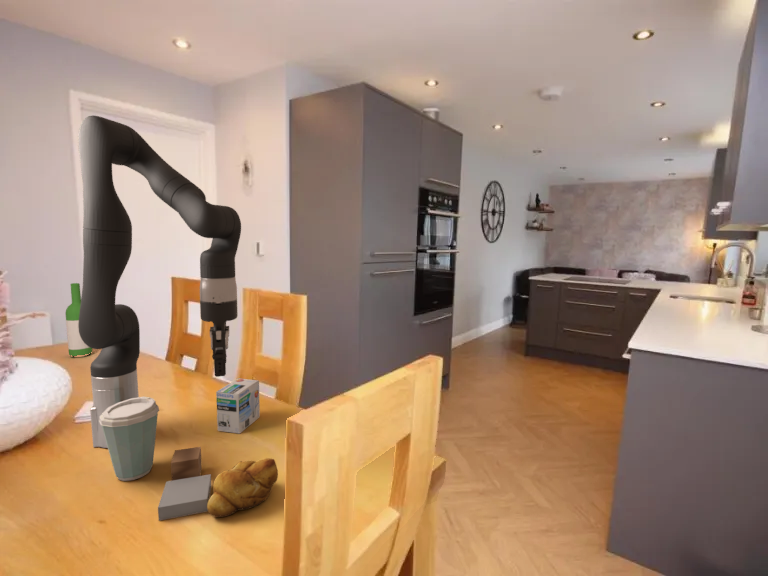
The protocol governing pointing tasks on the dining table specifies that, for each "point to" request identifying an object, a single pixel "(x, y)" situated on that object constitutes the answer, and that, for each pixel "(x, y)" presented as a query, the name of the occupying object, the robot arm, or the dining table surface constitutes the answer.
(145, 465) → the disposable coffee cup
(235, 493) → the bread roll
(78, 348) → the wine bottle
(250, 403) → the light bulb box
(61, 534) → the dining table surface
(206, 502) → the slate coaster
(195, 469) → the walnut cube
